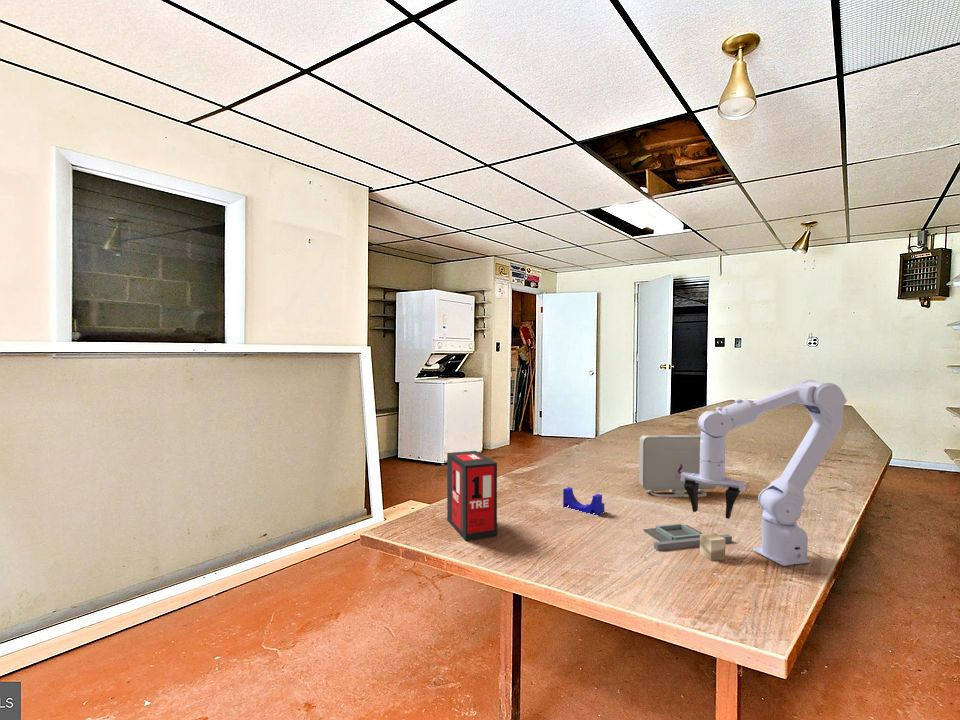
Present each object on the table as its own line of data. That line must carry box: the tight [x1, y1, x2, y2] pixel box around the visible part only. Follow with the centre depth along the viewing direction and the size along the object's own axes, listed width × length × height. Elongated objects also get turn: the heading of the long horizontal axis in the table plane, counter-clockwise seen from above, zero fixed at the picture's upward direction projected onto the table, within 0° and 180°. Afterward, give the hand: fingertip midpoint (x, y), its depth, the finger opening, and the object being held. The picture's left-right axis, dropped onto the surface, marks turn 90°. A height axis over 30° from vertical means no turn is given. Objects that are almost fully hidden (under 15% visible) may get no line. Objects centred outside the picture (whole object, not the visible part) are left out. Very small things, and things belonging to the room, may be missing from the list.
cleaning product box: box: [446, 450, 498, 542], centre depth 141 cm, size 16×9×20 cm, turn 21°
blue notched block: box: [562, 486, 605, 516], centre depth 157 cm, size 12×4×6 cm, turn 47°
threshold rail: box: [653, 534, 733, 552], centre depth 130 cm, size 2×22×2 cm, turn 104°
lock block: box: [699, 532, 726, 562], centre depth 123 cm, size 4×4×5 cm
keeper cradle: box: [642, 523, 704, 542], centre depth 136 cm, size 11×14×2 cm
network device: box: [638, 434, 717, 498], centre depth 174 cm, size 26×9×20 cm, turn 92°
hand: (711, 514), depth 125 cm, fingers open, 7 cm apart
